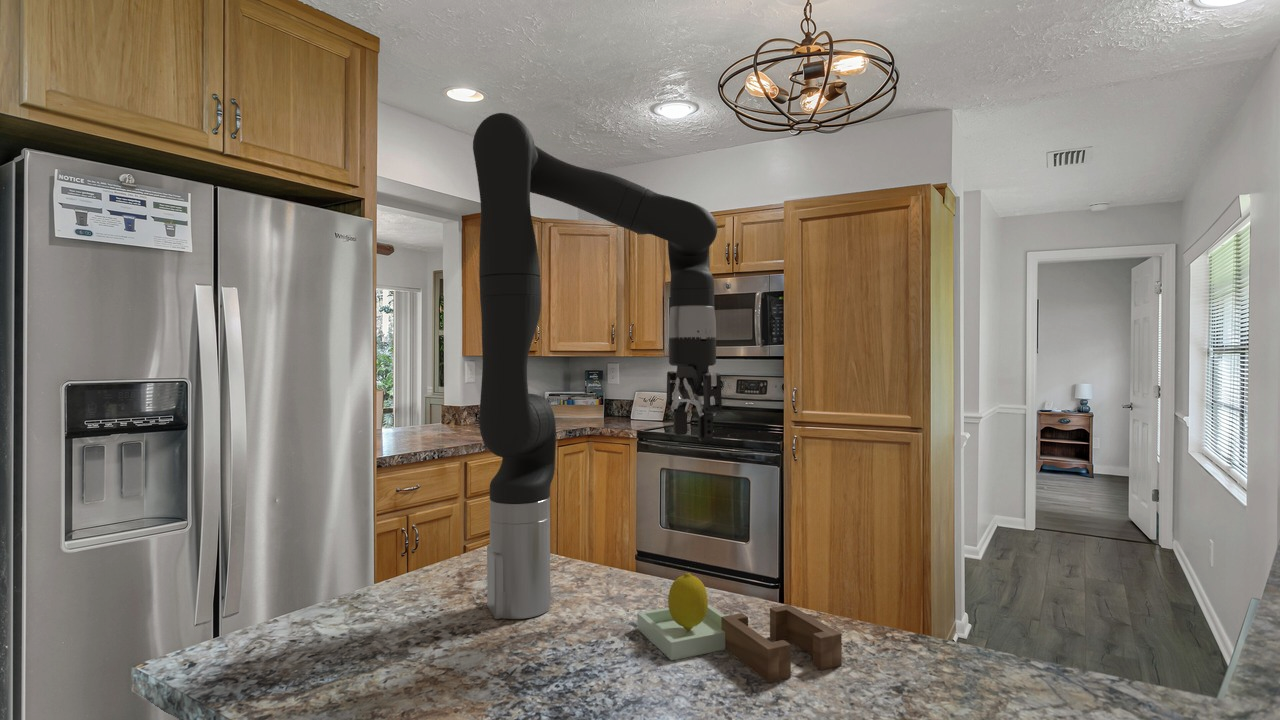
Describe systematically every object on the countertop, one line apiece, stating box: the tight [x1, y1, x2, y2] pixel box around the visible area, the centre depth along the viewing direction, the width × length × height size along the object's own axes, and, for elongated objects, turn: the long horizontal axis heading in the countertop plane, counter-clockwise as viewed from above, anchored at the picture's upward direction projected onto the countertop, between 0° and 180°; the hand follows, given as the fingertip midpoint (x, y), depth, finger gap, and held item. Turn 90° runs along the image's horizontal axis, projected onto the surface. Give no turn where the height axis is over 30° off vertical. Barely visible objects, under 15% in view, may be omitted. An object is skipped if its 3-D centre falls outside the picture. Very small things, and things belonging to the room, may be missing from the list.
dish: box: [636, 603, 727, 661], centre depth 94 cm, size 11×11×2 cm
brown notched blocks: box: [721, 604, 843, 683], centre depth 88 cm, size 11×11×4 cm
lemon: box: [667, 572, 709, 631], centre depth 94 cm, size 6×6×8 cm
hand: (692, 437), depth 108 cm, fingers open, 8 cm apart
